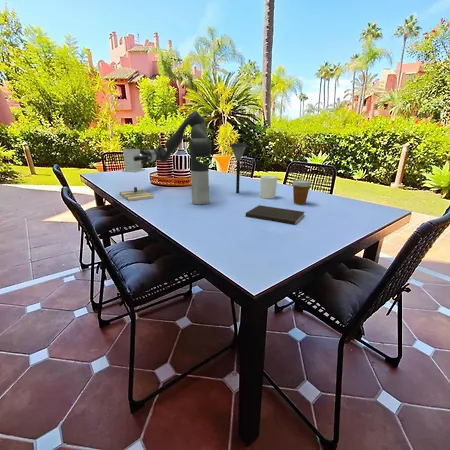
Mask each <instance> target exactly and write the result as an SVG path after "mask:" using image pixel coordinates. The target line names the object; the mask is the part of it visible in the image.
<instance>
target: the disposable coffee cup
mask: <svg viewBox="0 0 450 450" xmlns="http://www.w3.org/2000/svg"><path fill="white" fill-rule="evenodd" d="M311 185H312V184H311V181H310V180H305V179H295V180H294V179H293V181H292V187H293V188H292V190H293V204H295V205H300V206H301V205H306V203H307V198H308V195H309V192H310V187H311Z"/></svg>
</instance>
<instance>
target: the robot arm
mask: <svg viewBox="0 0 450 450" xmlns="http://www.w3.org/2000/svg"><path fill="white" fill-rule="evenodd" d="M188 126H189V127H190V128H191V130H190V137H191V138H190V140H189V155H190V179H191V180H190V182H191V184H190V185H191V186H190V187H191V203H192V204H194V205H207V204H210V184H209V179H210V178H209V177H210V175H209V174H210V173H209V170H210V169H209V165H208V164H207V163H204V162H201V161H199V160H198V158H207V157H210V155H211V154H212V143H211V141H210V138H209V136H208V130H207V128H206V127H207V123H206V120H205V119H204V117H203V116H202V115H201V114H200V113H199V112H198V111H196V110H194V111H192V112H191V113H190V114H189V115H188V116H187V117H186V119H184V121H183V122H182V123H181V124H180V126H179V127H178V129H176V131H175V132H174V133H173V134H172V135H171V136H170V138H169V139H167V141H165V142H164V145H165V148H164V147H163V146H161V145H158V146H156V148H154V149H142V150H141V149H140V156H138V157H134V159H135V161H141V164H146V163H147V164H149V163H152V162H155V161H158V160H159V161H160V162H161V163H165V162H167V161H168V160H169V159H170V158H171V155H172V154H173V152H174V151H175V150H176V148H178V147H179V146H180V145H181V143H182V142H183V137H184V134H185V131H186V128H187V127H188Z"/></svg>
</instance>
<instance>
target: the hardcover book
mask: <svg viewBox="0 0 450 450" xmlns="http://www.w3.org/2000/svg"><path fill="white" fill-rule="evenodd" d="M305 213H306V211H301V210H294V209H288V208H281V207H280V208H279V207H274V206H266V205H260V204H259V205H257V206H255V207H253V208H252V209H250V210H248V211H246V212H245V214H244V215H245V217H246V218H252V219H258V220H264V221H269V222H275V223H281V224H286V225H287V224H288V225H292V226H295V225H296V224H297V223H298V222H299V221H300V220H301V219H302V218H303V217H304V215H305Z"/></svg>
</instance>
